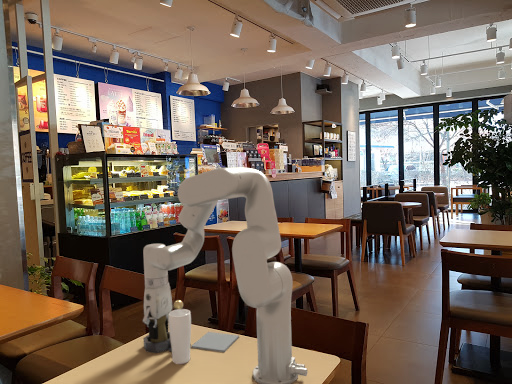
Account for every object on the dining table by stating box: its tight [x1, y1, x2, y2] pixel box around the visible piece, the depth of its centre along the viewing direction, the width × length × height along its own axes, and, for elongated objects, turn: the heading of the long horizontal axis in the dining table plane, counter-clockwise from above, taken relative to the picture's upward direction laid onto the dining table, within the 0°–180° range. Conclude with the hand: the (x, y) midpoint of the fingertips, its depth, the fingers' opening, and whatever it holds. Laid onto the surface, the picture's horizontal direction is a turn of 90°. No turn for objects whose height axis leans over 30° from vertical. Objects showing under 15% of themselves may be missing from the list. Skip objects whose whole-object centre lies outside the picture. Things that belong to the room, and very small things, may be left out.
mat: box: [190, 331, 240, 353], centre depth 133 cm, size 12×12×1 cm
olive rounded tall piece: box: [151, 315, 168, 343], centre depth 131 cm, size 6×6×11 cm
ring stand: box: [143, 299, 192, 354], centre depth 130 cm, size 15×10×16 cm, turn 69°
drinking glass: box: [168, 308, 192, 365], centre depth 120 cm, size 7×7×15 cm
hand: (159, 334), depth 131 cm, fingers open, 5 cm apart
